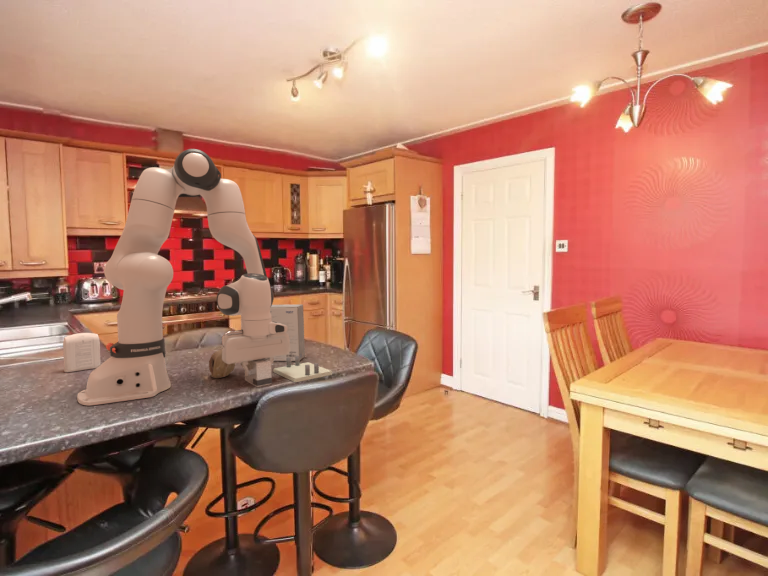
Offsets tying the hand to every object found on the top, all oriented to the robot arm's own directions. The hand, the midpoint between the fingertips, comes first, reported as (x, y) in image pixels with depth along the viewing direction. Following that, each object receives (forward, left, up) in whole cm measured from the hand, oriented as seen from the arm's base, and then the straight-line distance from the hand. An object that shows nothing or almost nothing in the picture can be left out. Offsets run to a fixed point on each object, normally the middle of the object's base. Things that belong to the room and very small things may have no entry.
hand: (257, 373), depth 130 cm
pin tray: (+15, 0, -3) cm, 15 cm away
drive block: (0, 0, -3) cm, 3 cm away
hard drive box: (+19, +22, -3) cm, 30 cm away
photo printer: (-39, +52, -3) cm, 65 cm away
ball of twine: (-6, +13, -3) cm, 15 cm away
